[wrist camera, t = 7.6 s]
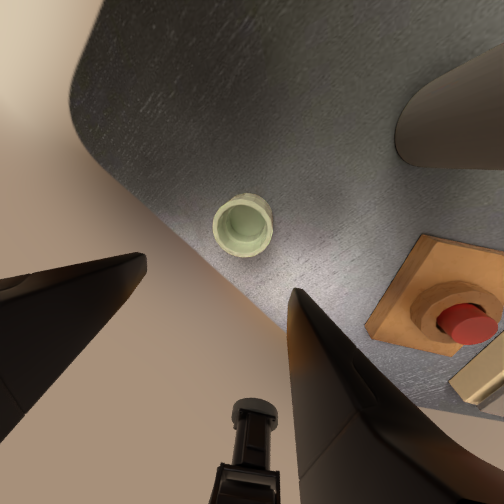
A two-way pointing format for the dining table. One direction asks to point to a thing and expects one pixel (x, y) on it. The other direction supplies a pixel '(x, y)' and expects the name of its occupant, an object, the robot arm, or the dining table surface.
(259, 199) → the mint green cup
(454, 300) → the block
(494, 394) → the pan
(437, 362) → the dining table surface
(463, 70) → the bottle
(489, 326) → the tare button
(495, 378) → the scale
